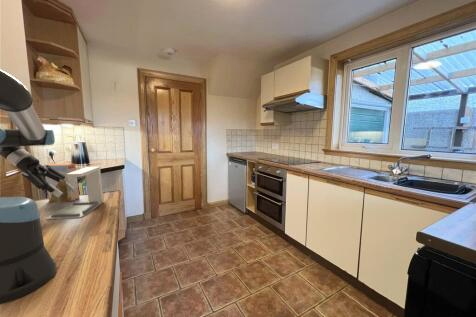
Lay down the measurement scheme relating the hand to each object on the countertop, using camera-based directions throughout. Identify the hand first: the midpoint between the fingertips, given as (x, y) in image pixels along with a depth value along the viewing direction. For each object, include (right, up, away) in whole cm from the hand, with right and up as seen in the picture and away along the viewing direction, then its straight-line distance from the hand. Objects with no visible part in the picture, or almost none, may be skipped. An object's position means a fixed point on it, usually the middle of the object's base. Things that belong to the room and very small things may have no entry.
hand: (66, 192), depth 101 cm
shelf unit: (+3, -9, +3) cm, 10 cm away
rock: (-3, -4, -1) cm, 5 cm away
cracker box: (-15, -7, +17) cm, 24 cm away
